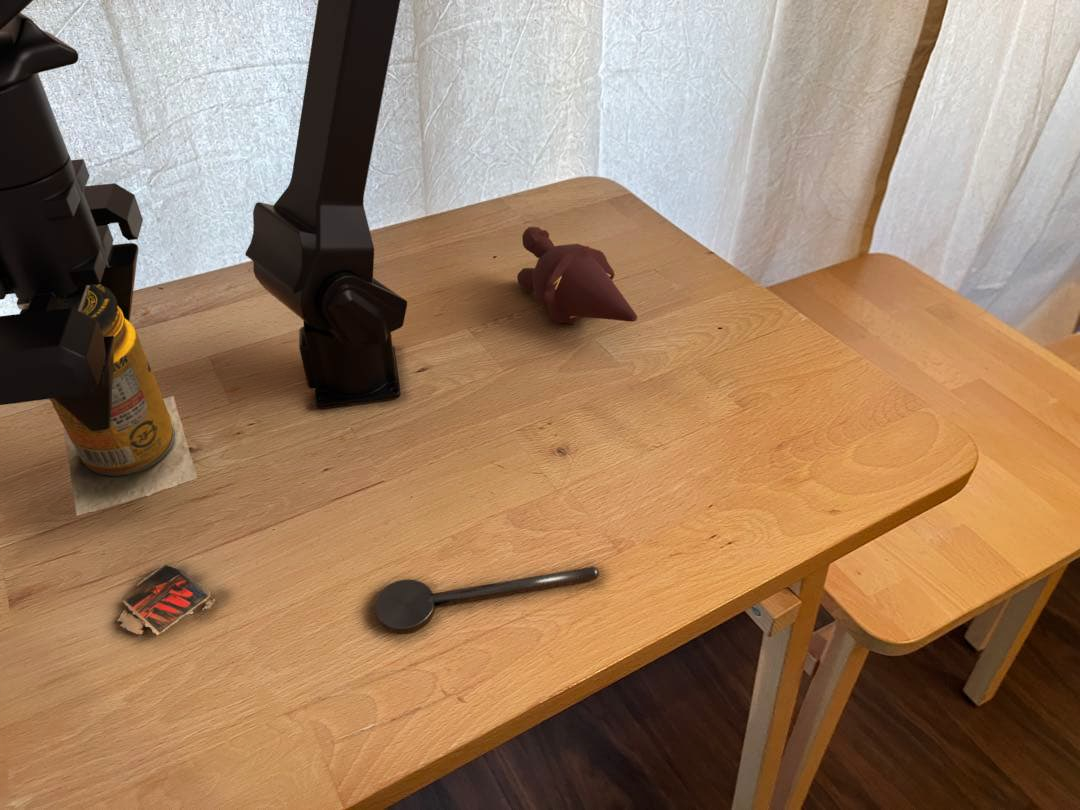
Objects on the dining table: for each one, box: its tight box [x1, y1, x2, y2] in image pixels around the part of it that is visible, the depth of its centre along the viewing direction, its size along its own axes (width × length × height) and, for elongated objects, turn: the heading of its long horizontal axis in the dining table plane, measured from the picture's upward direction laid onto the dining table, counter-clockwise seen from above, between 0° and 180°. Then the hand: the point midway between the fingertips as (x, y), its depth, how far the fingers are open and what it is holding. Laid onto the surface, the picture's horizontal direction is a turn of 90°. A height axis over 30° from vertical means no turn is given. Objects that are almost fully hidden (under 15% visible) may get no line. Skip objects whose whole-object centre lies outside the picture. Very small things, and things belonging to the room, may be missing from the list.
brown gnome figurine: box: [516, 226, 638, 325], centre depth 75 cm, size 7×7×15 cm
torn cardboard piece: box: [117, 563, 220, 636], centre depth 53 cm, size 5×5×1 cm
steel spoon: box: [374, 566, 600, 635], centre depth 54 cm, size 14×4×1 cm, turn 102°
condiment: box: [19, 284, 198, 516], centre depth 54 cm, size 7×8×12 cm
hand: (109, 395), depth 56 cm, fingers closed on condiment, 6 cm apart
